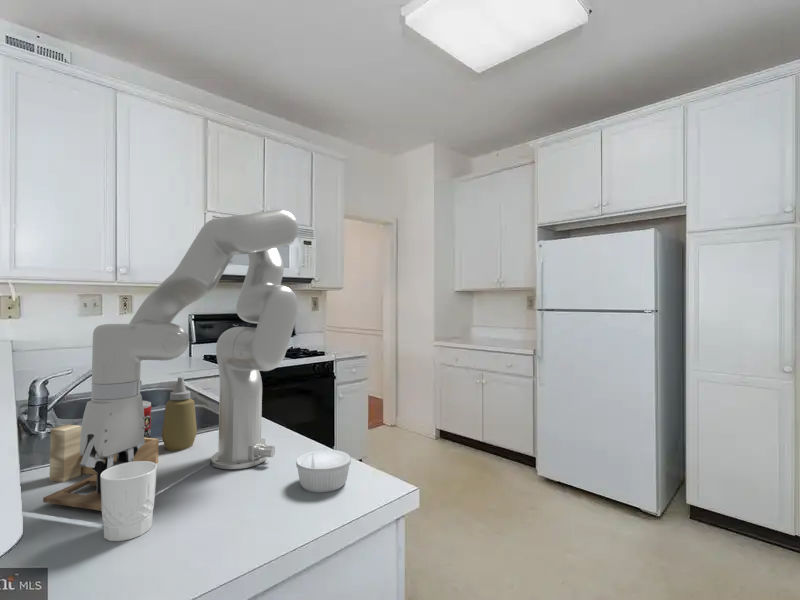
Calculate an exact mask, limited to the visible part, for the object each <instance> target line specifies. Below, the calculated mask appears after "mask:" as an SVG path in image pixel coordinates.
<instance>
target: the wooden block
mask: <svg viewBox="0 0 800 600" xmlns="http://www.w3.org/2000/svg"><path fill="white" fill-rule="evenodd" d="M81 428H82V425H78V424H69V423H68V424H65V425H62V426H61V425H60V426H58V427H54V428H51V429H50V440H49V441H50V442H49V444H50V446H49V451H50V452H49V481H53V482H60V483H65V482H67V481H70V480H72V479H74V478H77V477H80V476H81V474H82V473H81V466H80V463H81V455H80V437H81Z"/></svg>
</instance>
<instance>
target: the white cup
mask: <svg viewBox="0 0 800 600" xmlns="http://www.w3.org/2000/svg"><path fill="white" fill-rule="evenodd" d="M157 470H158V464H157V463H156V464H155V463H153V462H149V461H135V462H128V463H123V464H119V465H115V466H113V467H110V468H108V469H106V470H104V471H103V472H102V473H101V475H100V482H101V509H102V510H101V511H100V512H101V518H102V519H101V520H102V524H103V538H104V539H105V540H107V541H109V542H124V541H129V540H132V539H135V538H138V537H140V536H142V535H144V534H146V532H148V531H150V529H151V527H152V526H153V516H154V515H153V514H154V513H153V512H154V511H153V510H154V507H155V497H156V486H157V473H158V472H157Z"/></svg>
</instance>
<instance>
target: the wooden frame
mask: <svg viewBox="0 0 800 600" xmlns="http://www.w3.org/2000/svg"><path fill="white" fill-rule="evenodd" d="M104 463H105V462H104ZM123 463H127V462H118V461H113V466H115V465H119V464H123ZM86 486H95V487H96V490H94V491H92V492H90V493H87V494H80V493H79V494H78V493H73V492H75V491H77V490H79V489H81V488H84V487H86ZM42 502H43V503H45V504H52V505H53V504H54V505H61V506H66V507H67V506H68V507H73V508H81V509H87V510H94V511H100V512H102V511H101V510H102V509H101V494H100V493H98V473H97V475H92V476H90V477H88V478H86V479H83V480H80V481H78V482H75V483H73V484H72V485H69V486H67V487H64V488H62V489H60V490H57V491H56V492H55V491H54V492H53V493H50V494H48V495H46V496H43V497H42Z"/></svg>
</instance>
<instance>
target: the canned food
mask: <svg viewBox="0 0 800 600" xmlns="http://www.w3.org/2000/svg"><path fill="white" fill-rule="evenodd" d="M142 401H143V408H144V437H145V438H152V436H151V435H152V433H151V432H152V402H151V401H148V400H142Z"/></svg>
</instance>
